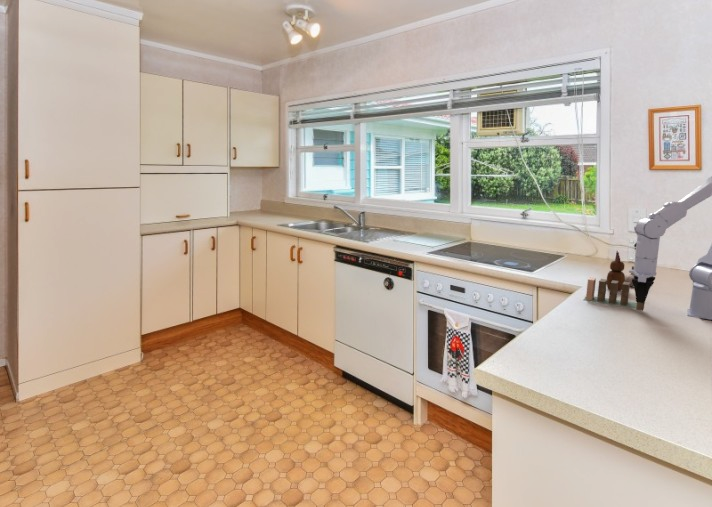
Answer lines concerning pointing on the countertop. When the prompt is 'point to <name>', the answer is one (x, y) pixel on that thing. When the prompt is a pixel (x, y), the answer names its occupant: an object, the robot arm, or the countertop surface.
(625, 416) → the countertop surface
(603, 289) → the domino
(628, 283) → the domino
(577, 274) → the countertop surface
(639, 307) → the domino
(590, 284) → the domino end
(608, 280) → the wooden figurine
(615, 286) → the domino
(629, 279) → the garlic bulb
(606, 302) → the mat
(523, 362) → the countertop surface
